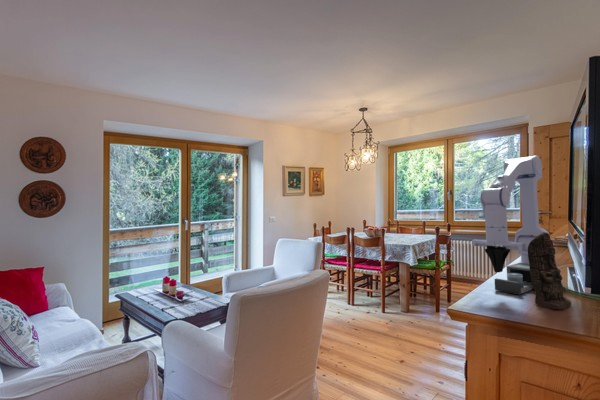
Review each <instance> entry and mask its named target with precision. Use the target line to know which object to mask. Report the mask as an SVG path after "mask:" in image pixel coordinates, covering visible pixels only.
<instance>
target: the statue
mask: <svg viewBox="0 0 600 400" xmlns="http://www.w3.org/2000/svg"><path fill="white" fill-rule="evenodd" d="M549 234H550V233H549ZM549 234H548V233H545V232H543V233H541V234H540V235H536V236H537V237H535V238H534V239H533V240H532V241H531V242H530V243H529V246H528V259H529V266H530V274H531V279H532V283H533V287H534V289H533V290H534V291H535V293H534V295H535V297H534V303H535V305H538V306H539V307H540V306H541V307H545V308H548V309H552V310H559V311H560V310H564V309H566V308H568V307H571V306H572V301H571V300H568V299H567V298H566V297H564V291H565V290H564V287H563V283H562V280H563V276H562V275H561V272H562V271H561V269H559V268H558V266H557V261H556V249H555V246H554V241H553V240H552V239H551V235H549ZM550 239H551V240H550Z"/></svg>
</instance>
